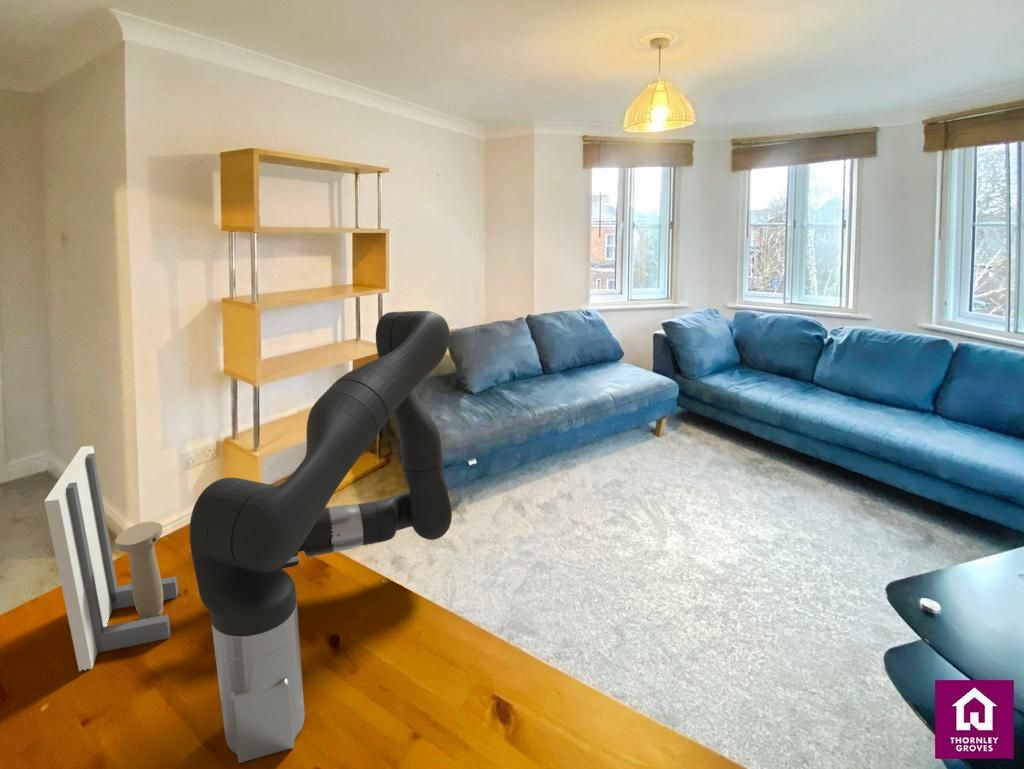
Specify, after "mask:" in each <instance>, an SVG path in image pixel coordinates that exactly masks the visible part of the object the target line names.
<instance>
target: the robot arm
mask: <svg viewBox="0 0 1024 769" xmlns="http://www.w3.org/2000/svg"><path fill="white" fill-rule="evenodd" d="M450 334H451V333H450V327H449V324H448V322H447V321H446V319H445V318H444V317H443V315H441V314H439V313H437V312H434V311H429V310H415V311H414V310H413V311H412V310H411V311H407V310H406V311H391V312H386V313H384V314H383V315H382V316H381V317H380V319H379V320H378V321H377V325H376V329H375V348H376V350H377V356H378V358H376V359H373V360H371V361H368V362H366V363H364V364H362V365H361V366H358V367H356V368H353V369H352V370H351V371H349V372H347V373H345V374H344V375H342V376H340V377H339V378H338V379H337V380H336V381H335V382H334V383H333V384H332V385H331V386H330V387H329V388H328V389H326V391H325V392H323V394H322V395H321V396H320V397H319V398H318V399H317V401H315V403H314V404H313V406H312V408H311V409H310V411H309V413H308V417H307V422H306V451H305V456H304V458H303V460H302V461H301V463H300V464H299V465H298V467H296V469H295V470H294V471H293V472H292V474H291V475H290V476H288V478H287V479H286V480H284V481H283V482H281V483H280V484H277V485H273V484H269V483H263V482H259V481H254V480H250V479H245V478H238V477H224V478H223V477H222V478H220V479H217V480H215V481H214V482H212V483H211V484H209V485H208V486H206V488H205V489H203V490H202V492H201V493H200V495H198V497H197V498H196V501H195V504H194V505H193V509H192V511H191V516H190V520H189V530H188V531H189V535H188V536H189V545H190V553H191V558H192V563H193V567H194V572H195V578H196V582H197V590H198V593H199V597H200V600H201V602H202V604H203V606H204V608H205V609H206V610H207V611H208V613H209V615H210V622H211V629H212V630H211V631H212V638H213V647H214V648H213V649H214V656H215V663H216V670H217V671H216V672H217V681H218V688H219V689H218V690H219V697H220V705H221V715H222V720H223V721H222V722H223V728H224V735H225V736H224V737H225V742H226V745H227V747H228V748H229V749H230V751H231V752H233V753H234V754H235V755H237V762H238V763H239V764H240V763H244V762H248V761H251V760H255V759H259V758H262V757H265V756H270V755H272V754H276V753H280V752H283V751H286V750H290V749H293V748H294V747H295V740H296V738H297V736H298V735H299V733H300V732H301V730H302V728H303V726H304V723H305V702H304V701H305V699H304V688H303V674H302V672H303V671H302V659H301V646H300V632H299V630H300V629H299V616H298V605H297V604H298V603H297V602H298V601H297V590H296V588H297V587H296V584H295V581H294V580H293V578H292V577H291V575H290V574H289V573H288V571H287V572H286V571H285V570H284V569H287V568H292V567H296V566H298V565H299V564H300V561H299V560H300V558H299V553H301V552H304V555H305V557H308V558H311V557H315V556H321V555H322V556H323V555H326V554H327V555H328V554H332V553H333V554H334V553H337V552H343V551H344V552H345V551H349V550H352V549H354V548H357V547H363V546H367V545H372V544H378V543H383V542H387V541H390V540H392V539H393V538H394V537H395V536H396V534H397V532H398V531H400V530H403V529H407V528H412V529H413V530H414V532H415V534H417V535H418V536H420V537H421V538H423V539H424V540H429V541H430V540H431V541H433V540H438V539H440V538H442V537H444V535H445V534H446V533H447V532H448V531H449V529H450V526H451V524H452V518H453V517H452V516H453V512H452V505H451V500H450V495H449V491H448V490H449V489H448V487H447V482H446V480H445V475H444V460H443V451H442V440H441V436H440V432H439V429H438V427H437V424H436V423H435V420H434V419H433V418H432V416H431V414H430V412H428V409H427V408H426V407H425V405H424V403H423V402H422V400H421V399H420V398H419V395H418V394H417V392H416V390H415V389H416V387H417V386H418V385H419V384H420V383H422V381H423V380H424V379H425V378H426V377H427V376H428V375H429V374H430V373H432V371H434V369H436V368H437V366H439V364H440V363H441V362H442V360H443V359H444V357H445V355H446V353H447V351H448V348H449V343H450ZM393 414H394V418H395V422H396V426H397V432H398V438H399V444H400V445H399V446H400V447H399V448H400V455H401V464H402V472H403V476H404V479H405V482H406V485H407V487H408V491H404V492H403V493H402V492H401V493H400V494H396V495H393V496H391V497H389V498H387V499H384V500H377V501H369V502H362V503H358V504H357V503H356V504H339V505H333V506H327V505H328V504H329V501H330V500H331V498H332V497H333V495H334V494H335V492H336V490H337V489H338V487H339V486H340V485H341V483H342V482H343V481H344V479H345V478H346V476H347V475H348V473H349V472H350V470H351V469H352V468H353V466H354V465H355V463H356V462H357V461H358V460H359V459H360V458H361V456H362V454H363V453H364V452H365V451H366V450H367V449H368V448H369V447H370V445H371V444H372V443H373V442H374V440H375V439H376V438H377V436H379V434H380V432H381V431H382V430H383V429H384V428H385V426H386V424H388V421H389V420H390V419H391V418H392V416H393ZM326 506H327V507H326Z"/></svg>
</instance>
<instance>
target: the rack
mask: <svg viewBox="0 0 1024 769" xmlns="http://www.w3.org/2000/svg"><path fill="white" fill-rule="evenodd" d="M96 459H97V458H96V454H95V449H94V445H86V446H81V447H80V448H79V449H78V451H77V452H76V454H75V456H74V457H73V458H72V460H71V462H70V463H69V464H68V466H67V467H66V468H65V470H64V472H63V473H62V474H61V476H60V478H59V479H58V480H57V482H56V483H55V485H54V486H53V488H52V489H51V491H50V492H49V494H48V495H47V497H46V498H45V499H44V505H45V506H44V507H45V511H46V512H45V513H46V517H47V522H48V526H49V532H50V537H51V540H52V541H51V542H52V545H53V546H52V547H53V551H54V556H55V560H56V566H57V571H58V575H59V579H60V580H59V581H60V585H61V590H62V594H63V595H62V596H63V600H64V606H65V609H66V613H67V614H66V615H67V620H68V624H69V628H70V635H71V639H72V643H73V644H72V645H73V647H74V648H73V649H74V653H75V654H74V655H75V658H76V663H77V667H78V672H82V671H81V670H84V671H88V670H87V669H89V670H92V669H93V666H94V664H95V662H96V658H97V655H98V654H99V653H104V652H109V651H113V650H119V649H123V648H124V649H125V648H129V647H134V646H138V645H143V643H144V644H148V642H149V643H153V641H154V642H158V641H157V640H159V641H163V639H164V640H168V639H170V637H171V625H170V617H169V614H164V615H163V614H162V616H158V617H153V618H148V619H142V620H139V619H137V620H133V621H126V622H123V623H117V624H112V625H108V624H109V621H108V620H110V618H109V617H111V614H112V612H113V610H118V608H119V609H122V608H123V609H125V608H128V607H134V606H135V603H134V599H133V594H132V586H131V583H129V584H125V585H118V583H117V576H116V575H117V574H116V570H115V565H114V564H115V563H114V559H113V553H112V546H111V541H110V535H109V530H108V525H107V524H108V523H107V518H106V512H105V507H104V502H103V494H102V488H101V483H100V477H99V472H98V467H97V460H96ZM161 580H162V587H163V601H167V600H172V599H173V600H174V599H177V598H178V596H179V595H178V594H179V588H178V582H177V581H178V580H177V576H173V577H172V576H170V577H165V578H161ZM107 623H108V624H107Z"/></svg>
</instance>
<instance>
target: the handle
mask: <svg viewBox="0 0 1024 769" xmlns="http://www.w3.org/2000/svg"><path fill="white" fill-rule="evenodd" d="M162 534H163V526H162V524H161V523H160V522H156V521H145V522H144V521H143V522H140V523H138V524H134V525H132V526H129V527H128V528H126V529H125V530H123V531H121V532H120V533H119V534H118V535H117V537H115V540H114V546H115V549H116V550H117V551H119V552H123V553H128V561H129V570H130V571H129V572H130V584H131V586H132V594H133V599H134V603H135V609H136V611H137V614H138V620H142V619H148V618H153V617H158V616H163V612H164V600H163V587H162V580H161V579H162V576H161V573H160V568H159V564H158V558H157V555H156V551H155V550H156V549H155V544H157V542H158V541H159V539H160V538H161V536H162Z"/></svg>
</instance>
